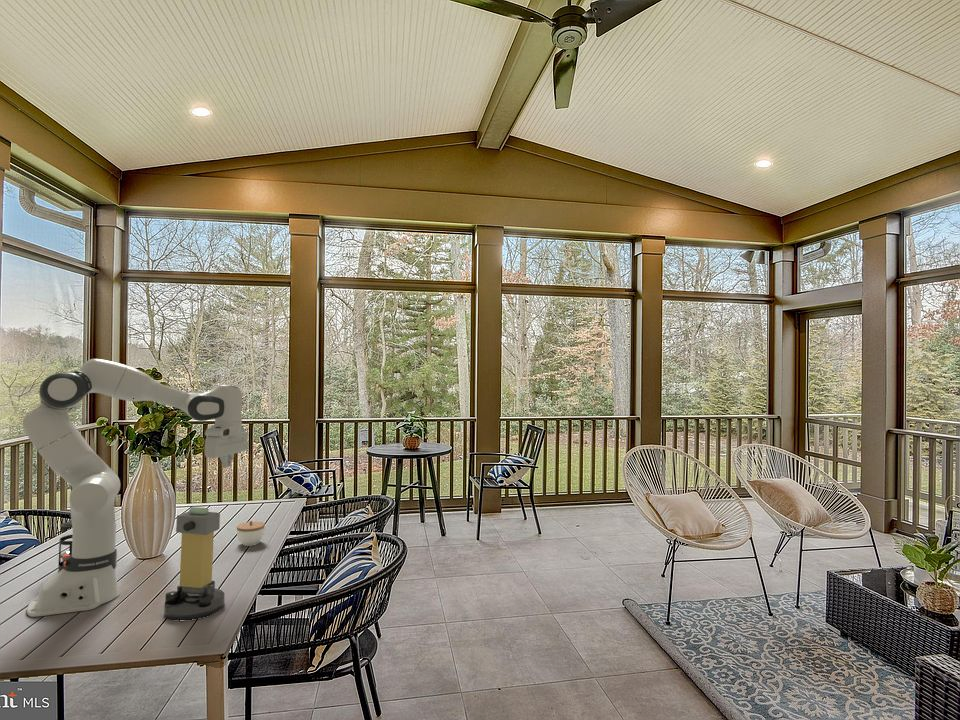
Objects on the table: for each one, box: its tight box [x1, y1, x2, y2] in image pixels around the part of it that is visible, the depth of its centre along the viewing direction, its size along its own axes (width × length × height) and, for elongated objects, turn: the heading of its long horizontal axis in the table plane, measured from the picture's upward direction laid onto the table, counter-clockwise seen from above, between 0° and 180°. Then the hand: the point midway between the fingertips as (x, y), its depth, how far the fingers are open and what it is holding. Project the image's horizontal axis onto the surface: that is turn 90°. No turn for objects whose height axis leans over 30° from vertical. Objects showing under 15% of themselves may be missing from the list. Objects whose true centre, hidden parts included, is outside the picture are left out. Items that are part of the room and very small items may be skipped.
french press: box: [57, 520, 73, 573], centre depth 186 cm, size 12×9×23 cm
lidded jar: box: [236, 520, 266, 547], centre depth 218 cm, size 11×11×9 cm
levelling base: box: [163, 580, 225, 622], centre depth 159 cm, size 16×16×7 cm
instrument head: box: [175, 506, 221, 595], centre depth 159 cm, size 8×10×26 cm
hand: (226, 467), depth 191 cm, fingers closed
